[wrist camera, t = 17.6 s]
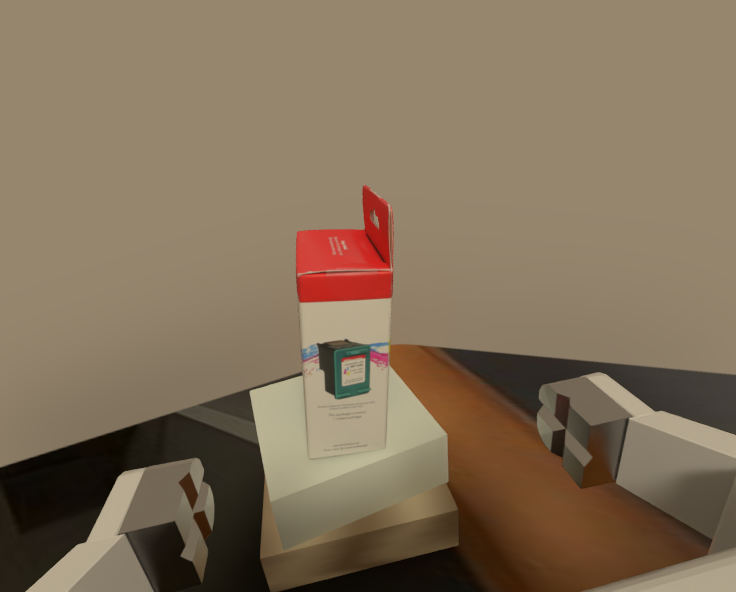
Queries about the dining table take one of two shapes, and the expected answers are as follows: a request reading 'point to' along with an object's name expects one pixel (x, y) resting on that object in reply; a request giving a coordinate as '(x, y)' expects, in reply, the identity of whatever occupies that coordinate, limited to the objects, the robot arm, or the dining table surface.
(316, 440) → the ink box
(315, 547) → the maple base block
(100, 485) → the dining table surface
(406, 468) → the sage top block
